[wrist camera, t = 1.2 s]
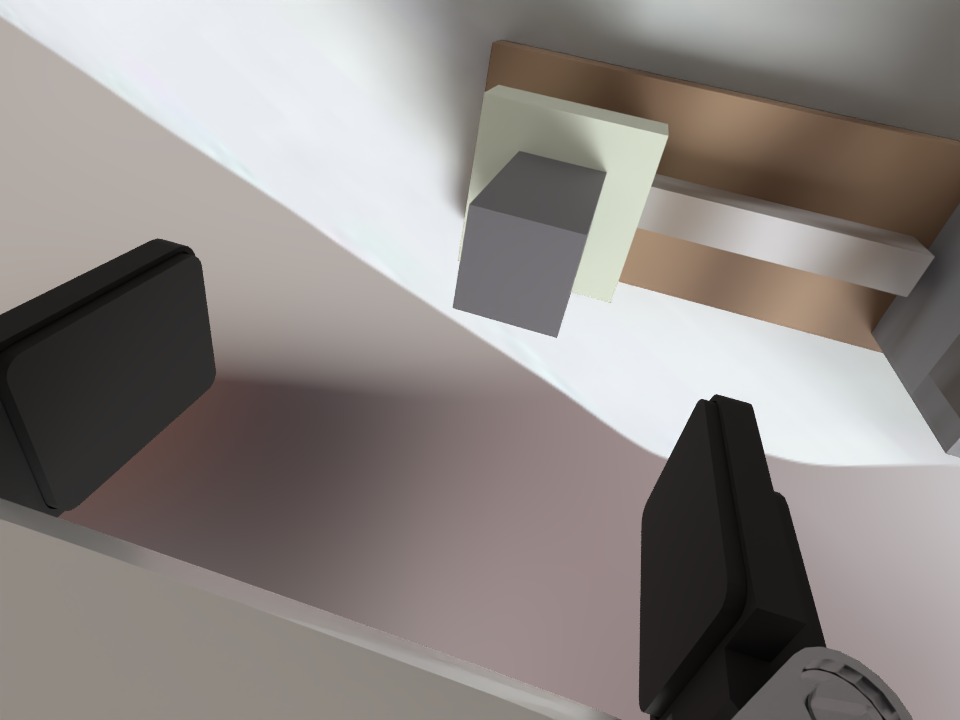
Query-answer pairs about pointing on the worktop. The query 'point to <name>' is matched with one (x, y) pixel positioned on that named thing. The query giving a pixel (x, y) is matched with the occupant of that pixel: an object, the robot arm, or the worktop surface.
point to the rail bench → (760, 168)
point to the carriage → (551, 205)
